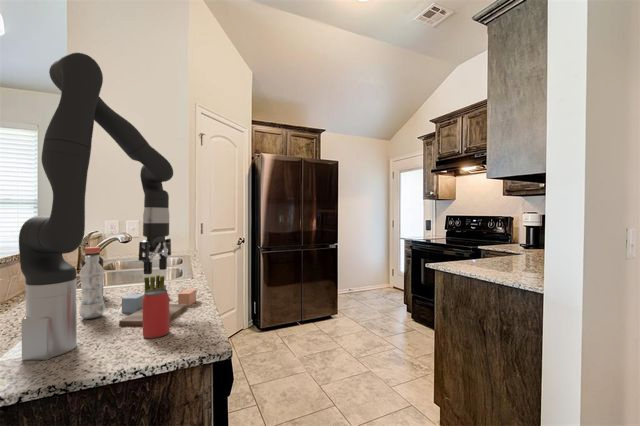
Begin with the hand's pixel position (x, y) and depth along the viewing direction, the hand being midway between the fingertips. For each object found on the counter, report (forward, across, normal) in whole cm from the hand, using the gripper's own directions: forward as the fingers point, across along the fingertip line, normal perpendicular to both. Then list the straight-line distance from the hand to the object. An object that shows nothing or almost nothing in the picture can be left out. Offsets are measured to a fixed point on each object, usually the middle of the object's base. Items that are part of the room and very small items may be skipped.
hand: (155, 271), depth 96 cm
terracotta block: (+14, +15, -4) cm, 21 cm away
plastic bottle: (+15, 0, +20) cm, 25 cm away
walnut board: (+15, +1, 0) cm, 15 cm away
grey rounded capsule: (+14, +21, +10) cm, 27 cm away
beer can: (+15, -13, -8) cm, 22 cm away
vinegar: (+14, +21, +37) cm, 45 cm away
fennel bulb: (+13, +1, 0) cm, 13 cm away
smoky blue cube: (+15, +7, +11) cm, 20 cm away
